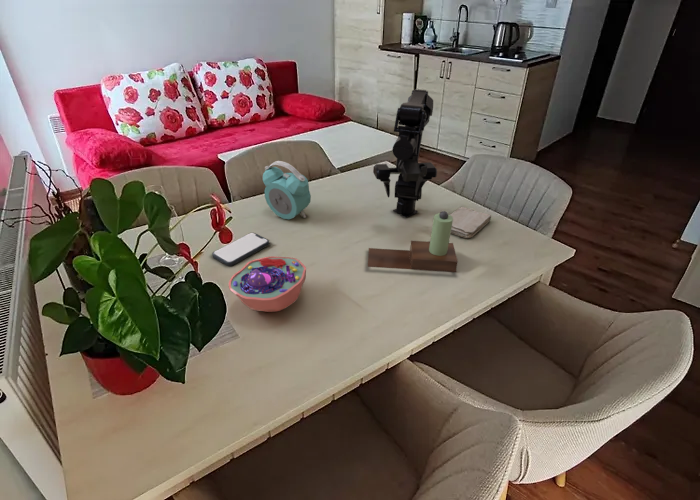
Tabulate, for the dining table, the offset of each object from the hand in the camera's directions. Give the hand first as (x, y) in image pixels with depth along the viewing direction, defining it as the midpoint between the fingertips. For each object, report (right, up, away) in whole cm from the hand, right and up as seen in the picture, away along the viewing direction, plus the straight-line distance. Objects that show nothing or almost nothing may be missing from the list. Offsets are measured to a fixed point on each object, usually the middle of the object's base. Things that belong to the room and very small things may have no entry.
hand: (402, 196), depth 137 cm
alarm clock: (-38, -5, +15) cm, 41 cm away
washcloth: (+23, -9, +12) cm, 27 cm away
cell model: (-37, -30, -25) cm, 54 cm away
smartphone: (-49, -17, -5) cm, 53 cm away
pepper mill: (+9, -17, -12) cm, 23 cm away
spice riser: (+1, -21, -9) cm, 23 cm away
